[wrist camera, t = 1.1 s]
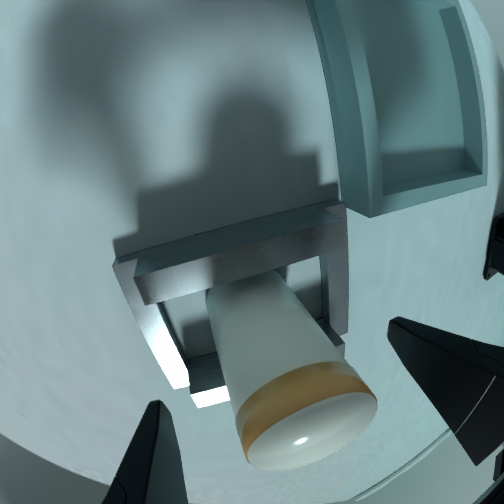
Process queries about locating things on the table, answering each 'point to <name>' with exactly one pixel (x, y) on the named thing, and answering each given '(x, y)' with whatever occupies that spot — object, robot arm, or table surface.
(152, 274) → the clip rails
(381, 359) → the table surface
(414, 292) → the table surface
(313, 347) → the cylinder
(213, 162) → the table surface
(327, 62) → the tray
